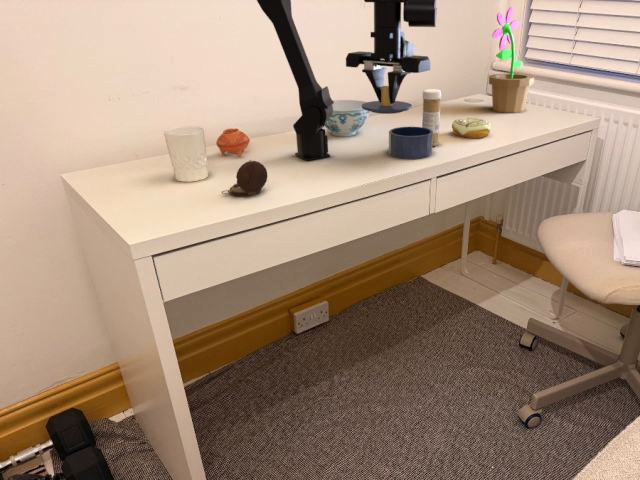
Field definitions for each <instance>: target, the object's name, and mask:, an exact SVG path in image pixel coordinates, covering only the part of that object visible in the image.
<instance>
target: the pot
mask: <svg viewBox="0 0 640 480" xmlns="http://www.w3.org/2000/svg"><path fill="white" fill-rule="evenodd" d="M250 140H251V139H250V137H249V135H247V134H246V133H245V132H243V131H241V130H240V129H239V128H233V127H232V128H226V129H224V130H223V131H222V133H221V134H220V135H219V137H218V138H217V139H216V141H215V143H216V144H215V145H216V146H217V147H218V148H219V151H220V154H221V155H222V156H225V157H226V153H229V154H237V156H238V158H241V157H242V153H244V151H245V149H246V148H247V147H248V146H249V144H250Z"/></svg>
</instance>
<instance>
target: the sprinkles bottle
mask: <svg viewBox="0 0 640 480" xmlns="http://www.w3.org/2000/svg"><path fill="white" fill-rule="evenodd" d="M441 99H442V90H440V89H438V88H427V89H426V88H425V89H424V90H422V120H421V121H422V123H421V124H422V125H421V127H423V128H427V129H431V130H432V131H433V146H432V147H437V146H439V145H440V128H441V127H440V125H441Z"/></svg>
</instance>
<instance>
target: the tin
mask: <svg viewBox="0 0 640 480" xmlns="http://www.w3.org/2000/svg"><path fill="white" fill-rule="evenodd" d="M433 147H434V146H433V131H432V130H431V129H427V128H423V127H422V126H399V127H394V128H392V129H390V130H389V131H388V152H389V153H388V155H389V156H390V157H393V158H395V159H396V158H397V159H401V160H419V159H420V160H421V159H425V158H429V157H431V156H432V154H433Z"/></svg>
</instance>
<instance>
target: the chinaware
mask: <svg viewBox="0 0 640 480" xmlns="http://www.w3.org/2000/svg"><path fill="white" fill-rule="evenodd" d="M332 100H333V99H332ZM333 102H334V104H332V107H333V112H332V115H331V117H330V118H329V119H328V120H327V121H326V123H325V126H324V127H325V128H326V129H328V130H329V131H331V135H332V136H335V137H352V136H355V135H357V131H358V130H359V129H360V128H361V127H363V126H364V124H365V123H366V122H367V120H368V117H369V114H370V112H371V111H367V110H364V109H362V104H364V103H367V102H368V101H364V100H358V99H357V100H355V99H336V100H335V99H334V100H333Z"/></svg>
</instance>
